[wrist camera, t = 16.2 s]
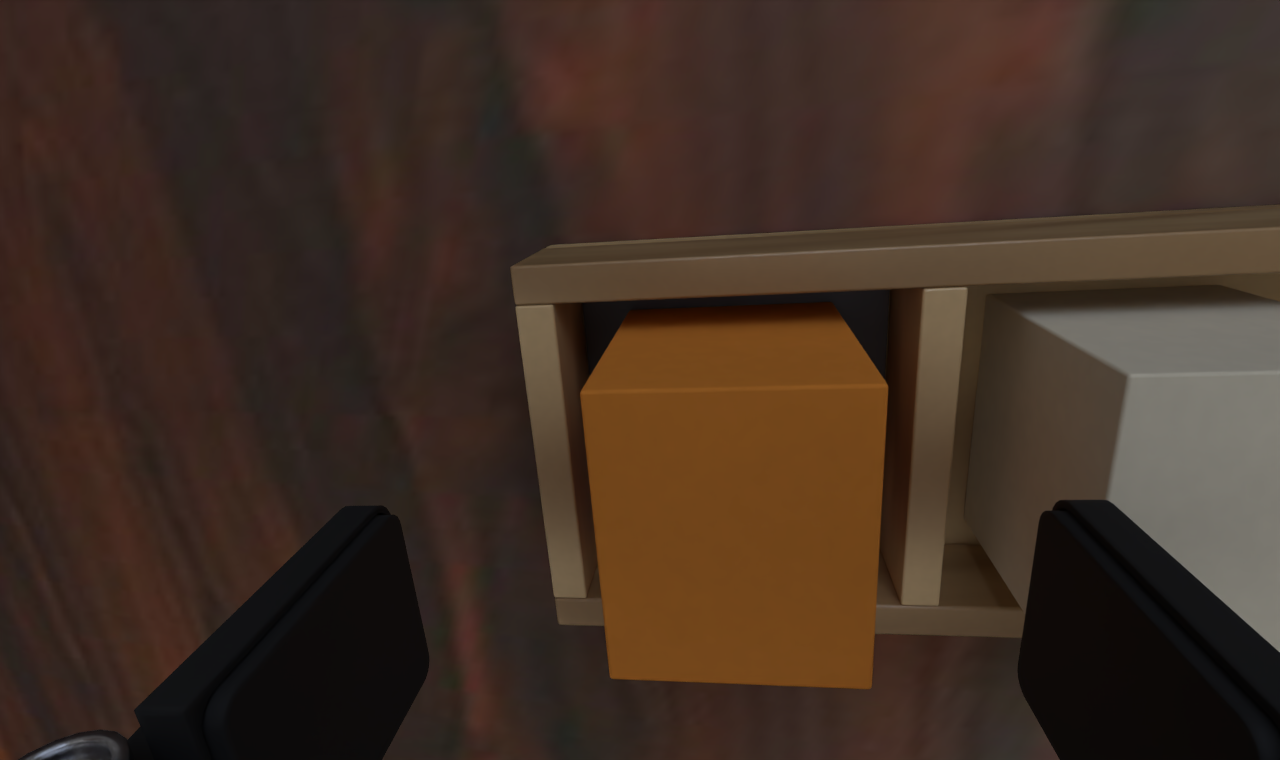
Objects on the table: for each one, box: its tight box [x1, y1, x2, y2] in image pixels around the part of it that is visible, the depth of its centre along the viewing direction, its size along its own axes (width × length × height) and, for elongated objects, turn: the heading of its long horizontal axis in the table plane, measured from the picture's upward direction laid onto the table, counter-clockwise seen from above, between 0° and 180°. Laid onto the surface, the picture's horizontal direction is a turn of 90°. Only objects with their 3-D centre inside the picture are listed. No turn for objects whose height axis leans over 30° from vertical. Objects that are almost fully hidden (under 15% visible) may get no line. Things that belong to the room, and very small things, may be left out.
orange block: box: [580, 302, 888, 689], centre depth 13 cm, size 6×5×6 cm
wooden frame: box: [510, 204, 1280, 638], centre depth 15 cm, size 9×16×3 cm, turn 94°
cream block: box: [964, 285, 1280, 652], centre depth 12 cm, size 6×5×6 cm
